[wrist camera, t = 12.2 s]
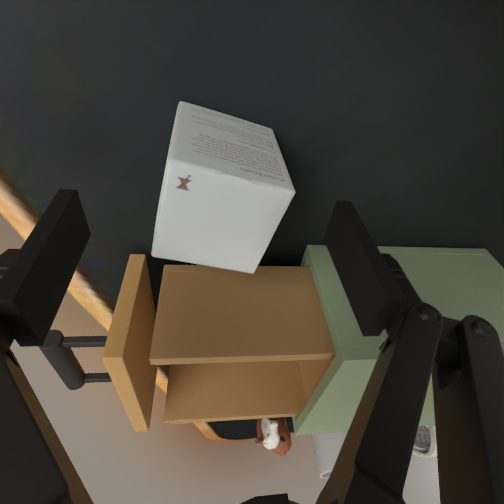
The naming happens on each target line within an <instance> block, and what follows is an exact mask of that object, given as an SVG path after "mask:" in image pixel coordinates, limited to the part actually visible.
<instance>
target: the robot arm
mask: <svg viewBox="0 0 504 504" xmlns="http://www.w3.org/2000/svg"><path fill="white" fill-rule="evenodd" d="M90 235H91V233H90V230H89V227H88V224H87V221H86V218H85V214H84V211H83V208H82V205H81V202H80V199H79V195H78V192H77V190H67V189H59V191H58V192H57V194H56V195H55V197H54V198H53V200H52V201H51V203H50V204H49V206H48V207H47V209H46V211H45V212H44V214H43V215H42V217H41V218H40V220H39V221H38V223H37V224H36V226H35V228H34V229H33V231H32V232H31V234H30V235H29V237H28V238H27V240H26V241H25V243H24V245H23V246H22V248H21V249H8V250H6V251H5V252H4V253H2V254H1V255H0V504H94V503H93V502H92V500H91V498H90V496H89V494H88V492H87V490H86V489H85V487H84V485H83V483H82V481H81V479H80V477H79V476H78V474H77V472H76V470H75V468H74V466H73V464H72V463H71V461H70V459H69V457H68V455H67V453H66V451H65V449H64V447H63V445H62V444H61V442H60V440H59V438H58V436H57V434H56V432H55V430H54V429H53V427H52V425H51V423H50V421H49V419H48V417H47V416H46V414H45V412H44V410H43V408H42V406H41V404H40V402H39V401H38V399H37V397H36V395H35V393H34V391H33V389H32V387H31V386H30V384H29V382H28V380H27V378H26V376H25V375H24V372H23V371H22V369H21V367H20V365H19V363H18V361H17V359H16V358H15V356H14V354H13V352H12V351H11V349H10V346H11V344H12V342H13V340H14V339H15V340H16V341H17V342H18V344H19V345H20V346H22V347H23V346H43V344H44V342H45V339H46V337H47V335H48V332H49V330H50V327H51V325H52V323H53V320H54V318H55V316H56V314H57V311H58V309H59V307H60V304H61V302H62V300H63V297H64V295H65V293H66V290H67V288H68V286H69V283H70V281H71V279H72V277H73V274H74V272H75V270H76V267H77V265H78V263H79V260H80V258H81V256H82V253H83V251H84V249H85V246H86V244H87V242H88V239H89V237H90ZM324 241H325V244H326V246H327V249H328V251H329V254H330V256H331V259H332V261H333V264H334V266H335V269H336V271H337V273H338V276H339V278H340V281H341V283H342V286H343V288H344V291H345V293H346V296H347V298H348V301H349V303H350V306H351V308H352V311H353V313H354V315H355V318H356V320H357V323H358V325H359V328H360V330H361V333H362V335H363V337H367V336H379V335H380V334H381V333H382V331H383V330H384V329H385V330H386V333H387V335H388V337H387V338H386V340H385V341H384V342H383V343H382V345H381V346H380V347H379V350H381V351H380V354H379V356H378V359H377V361H376V364H375V366H374V369H373V371H372V374H371V376H370V378H369V381H368V383H367V386H366V388H365V391H364V393H363V396H362V398H361V401H360V403H359V405H358V408H357V410H356V413H355V415H354V418H353V420H352V423H351V425H350V428H349V430H348V432H347V435H346V437H345V440H344V442H343V445H342V447H341V450H340V452H339V455H338V457H337V459H336V462H335V464H334V467H333V469H332V472H331V474H330V477H329V479H328V481H327V483H326V485H325V487H324V488H323V490H322V491H321V493H320V495H319V497H318V499H317V502H316V504H406V503H405V502H404V500H403V498H402V493H403V488H404V483H405V480H406V475H407V471H408V467H409V462H410V459H411V455H412V451H413V447H414V443H415V439H416V434H417V430H418V426H419V422H420V418H421V414H422V410H423V406H424V402H425V398H426V394H427V389H428V385H429V381H430V377H431V373H432V386H433V400H434V415H435V430H436V444H437V458H438V473H439V488H440V502H441V504H504V353H503V350H502V346H501V342H500V339H499V335H498V333H497V331H496V329H495V328H494V327H493V325H492V324H491V323H489V322H488V321H487V320H485V319H484V318H481V317H479V316H476V315H467V316H465V317H464V318H463V319H462V320H461V321H459V320H455V319H452V318H448V317H444V316H442V315H441V313H440V312H439V311H438V310H437V309H436V308H435V307H433V306H432V305H430V304H428V303H425V302H422V300H421V299H420V297H419V295H418V294H417V292H416V290H415V289H414V287H413V286H412V284H411V282H410V281H409V279H408V278H407V277H406V274H405V273H404V271H402V268H401V266H400V265H399V263H398V261H397V260H396V259H394V258H393V257H392V256H391V255H390V254H389V253H380V251H379V249H378V247H377V246H376V244H375V242H374V241H373V239H372V237H371V235H370V234H369V232H368V230H367V228H366V227H365V225H364V223H363V222H362V220H361V218H360V216H359V215H358V213H357V211H356V210H355V208H354V206H353V204H352V203H351V201H338V200H337V203H336V205H335V208H334V211H333V214H332V217H331V219H330V222H329V225H328V228H327V231H326V233H325V236H324ZM241 504H298V503H296V502H293V501H290V500H288V494H287V493H286V494H276V495H267V496H257V497H254V498H252V499H249V500H247V501H245V502H243V503H241Z"/></svg>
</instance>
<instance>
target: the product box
mask: <svg viewBox="0 0 504 504" xmlns="http://www.w3.org/2000/svg"><path fill="white" fill-rule="evenodd" d="M295 193H296V192H295V189H294V186H293V184H292V181H291V178H290V176H289V173H288V170H287V167H286V165H285V162H284V159H283V156H282V154H281V151H280V148H279V146H278V143H277V140H276V138H275V135H274V133H273V130H272V129H271V128H268V127H264V126H261V125H258V124H255V123H252V122H249V121H246V120H243V119H240V118H236V117H233V116H230V115H227V114H224V113H220V112H217V111H214V110H210V109H207V108H204V107H201V106H197V105H194V104H190V103H187V102H184V101H180V102H179V104H178V108H177V112H176V117H175V122H174V127H173V132H172V136H171V141H170V146H169V152H168V157H167V162H166V168H165V173H164V178H163V183H162V188H161V193H160V199H159V205H158V211H157V217H156V224H155V231H154V238H153V245H152V252H151V255H152V256H153V257H157V258H164V259H170V260H176V261H182V262H188V263H194V264H200V265H206V266H212V267H217V268H223V269H229V270H235V271H240V272H246V273H251V274H253V273H254V272H255V270H256V268H257V266H258V264H259V262H260V260H261V258H262V257H263V255H264V253H265V251H266V249H267V247H268V245H269V243H270V241H271V239H272V237H273V235H274V233H275V231H276V229H277V227H278V225H279V223H280V221H281V219H282V217H283V215H284V213H285V211H286V210H287V208H288V206H289V204H290V202H291V200H292V198H293V197H294V195H295Z"/></svg>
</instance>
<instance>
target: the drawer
mask: <svg viewBox="0 0 504 504" xmlns="http://www.w3.org/2000/svg"><path fill="white" fill-rule="evenodd" d="M38 347H39V348H40V349H41V351H42V352H43V354H44V355H45V357H46V358H47V359H48V361H49V362H50V364H51V365H52V366H53V368H54V369H55V371H56V372H57V374H58V375H59V376H60V378H61V379H62V381H63V382H64V383H65V385H66V386H67V388H68V389H70V390H76V389H79V388H81V387H82V386H83V385H84V384H85V383H89V382H113V384H114V386H115V388H116V391H117V393H118V395H119V397H120V399H121V402H122V404H123V406H124V408H125V411H126V413H127V415H128V417H129V419H130V421H131V424H132V426H133V428H134V430H135V432H141V431H149V425H150V418H151V411H152V403H153V396H154V388H155V381H156V374H157V366H158V365H170V367H169V377H168V386H167V396H166V406H165V415H164V423H165V424H175V423H192V422H209V421H226V420H242V419H259V418H276V417H293V416H299V415H300V414H301V412H302V410H303V409H304V407H305V405H306V404H307V402H308V400H309V399H310V397H311V395H312V394H313V392H314V391H315V389H316V387H317V386H318V384H319V382H320V381H321V379H322V377H323V376H324V374H325V372H326V371H327V369H328V368H329V366H330V364H331V363H332V361H333V359H334V358H335V356H336V351H335V348H334V345H333V342H332V338H331V335H330V332H329V329H328V325H327V322H326V319H325V316H324V312H323V309H322V306H321V303H320V299H319V296H318V293H317V290H316V286H315V283H314V280H313V277H312V273H311V270H310V267H308V266H257V268H256V270H255V272H254V273H253V274H251V273H246V272H240V271H235V270H229V269H223V268H217V267H212V266H206V265H164V269H163V275H162V281H161V287H160V294H159V300H158V306H157V313H156V312H155V306H154V301H153V295H152V289H151V283H150V277H149V272H148V266H147V260H146V255H145V254H130V257H129V261H128V264H127V268H126V272H125V275H124V279H123V283H122V286H121V290H120V293H119V297H118V301H117V304H116V308H115V312H114V315H113V319H112V323H111V326H110V330H109V333H108V336H80V337H64V336H63V334H62V333H61V331H59V330H49V332H48V335H47V337H46V339H45V342H44V344H43V346H38ZM70 347H105V348H104V352H103V355H102V360H103V362H104V364H105V366H106V369H107V371H108V373H88V374H85V373H84V371H83V369H82V367H81V366H80V364H79V362H78V360H77V358H76V357H75V355H74V353H73V352H72V350H71V348H70Z"/></svg>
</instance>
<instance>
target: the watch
mask: <svg viewBox="0 0 504 504" xmlns="http://www.w3.org/2000/svg"><path fill="white" fill-rule="evenodd" d="M412 453H413V454H415V455H417V456H421V457H427V458H428V457H433V456H437V444H436V430H435V426H432V427H431V426H429V429H428V428H427V427H425V426H420V427H418V430H417V434H416V439H415V443H414V447H413V451H412Z"/></svg>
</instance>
